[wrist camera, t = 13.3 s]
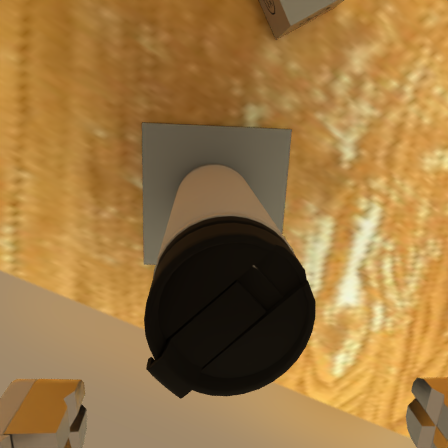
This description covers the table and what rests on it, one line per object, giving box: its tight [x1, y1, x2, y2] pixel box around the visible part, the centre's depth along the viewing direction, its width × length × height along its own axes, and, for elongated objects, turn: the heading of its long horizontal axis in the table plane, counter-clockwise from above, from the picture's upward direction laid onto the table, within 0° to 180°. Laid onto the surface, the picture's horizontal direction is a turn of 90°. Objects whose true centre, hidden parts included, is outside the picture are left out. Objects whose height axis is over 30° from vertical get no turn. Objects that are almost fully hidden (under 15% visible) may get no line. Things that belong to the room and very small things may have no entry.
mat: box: [142, 123, 292, 265], centre depth 32 cm, size 12×12×1 cm
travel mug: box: [144, 163, 315, 398], centre depth 22 cm, size 6×7×20 cm
